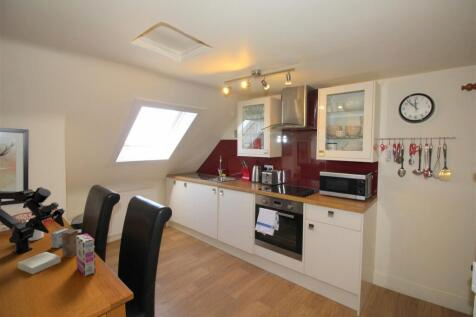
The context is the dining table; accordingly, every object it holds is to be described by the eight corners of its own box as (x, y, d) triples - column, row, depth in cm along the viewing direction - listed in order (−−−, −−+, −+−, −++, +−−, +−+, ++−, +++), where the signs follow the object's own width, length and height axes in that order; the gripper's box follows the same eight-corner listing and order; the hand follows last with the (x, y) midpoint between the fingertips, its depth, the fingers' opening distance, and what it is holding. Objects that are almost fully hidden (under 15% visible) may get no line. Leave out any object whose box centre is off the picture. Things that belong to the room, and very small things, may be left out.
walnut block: (62, 256, 126) (61, 232, 125) (70, 252, 131) (69, 229, 130) (71, 257, 125) (70, 233, 124) (78, 252, 130) (77, 229, 129)
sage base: (18, 268, 114) (17, 262, 114) (46, 257, 125) (45, 251, 125) (32, 274, 109) (32, 268, 109) (60, 261, 120) (60, 256, 120)
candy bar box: (96, 272, 111) (95, 239, 110) (84, 277, 107) (82, 242, 106) (88, 264, 118) (87, 232, 117) (76, 268, 115) (75, 235, 113)
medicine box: (57, 248, 135) (57, 233, 134) (51, 247, 136) (50, 233, 135) (70, 242, 143) (69, 228, 142) (64, 241, 143) (63, 228, 143)
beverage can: (29, 242, 142) (28, 223, 141) (24, 239, 146) (23, 220, 145) (45, 237, 149) (44, 219, 148) (40, 235, 153) (39, 217, 152)
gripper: (28, 203, 118) (49, 226, 117) (61, 194, 136) (79, 214, 136) (15, 217, 120) (36, 240, 119) (49, 207, 138) (67, 226, 138)
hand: (56, 229), depth 128 cm, fingers open, 9 cm apart
